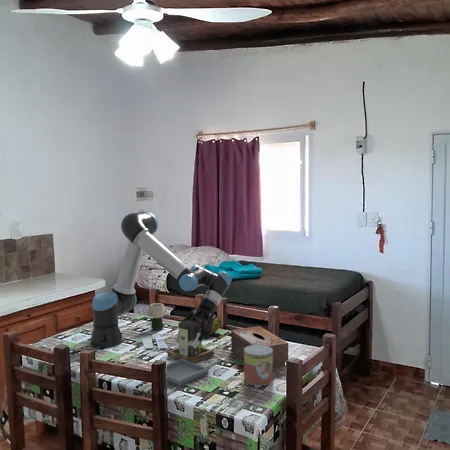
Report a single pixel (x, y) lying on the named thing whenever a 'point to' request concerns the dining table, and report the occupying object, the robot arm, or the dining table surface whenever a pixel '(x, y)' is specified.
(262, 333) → the tissue box cover
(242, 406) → the dining table surface
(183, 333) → the coffee can
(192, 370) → the tray
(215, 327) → the potato
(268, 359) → the canned food
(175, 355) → the holder frame
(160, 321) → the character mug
